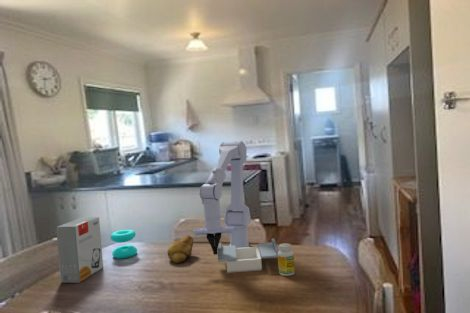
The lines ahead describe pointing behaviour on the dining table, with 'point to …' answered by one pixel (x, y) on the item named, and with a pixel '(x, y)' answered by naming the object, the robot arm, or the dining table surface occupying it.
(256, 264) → the carton
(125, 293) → the dining table surface
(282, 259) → the supplement bottle
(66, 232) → the hard drive box
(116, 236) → the donuts
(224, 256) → the flap
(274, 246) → the flap
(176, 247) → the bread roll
